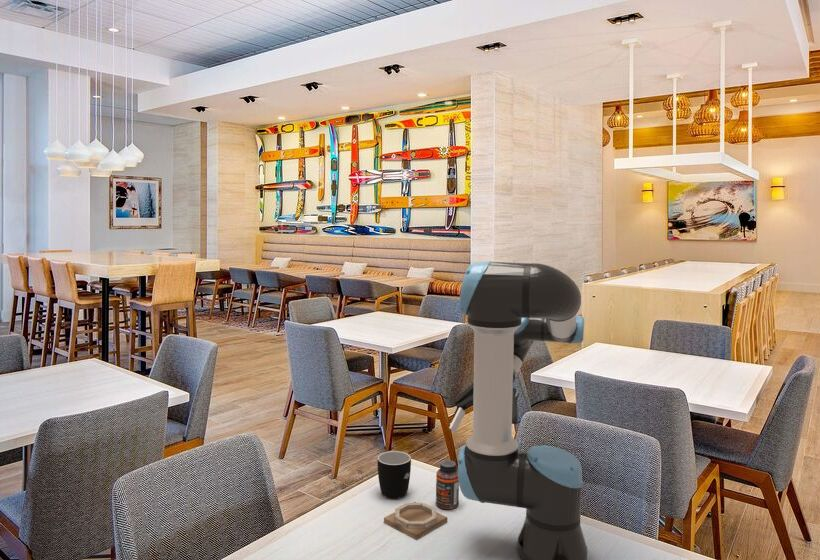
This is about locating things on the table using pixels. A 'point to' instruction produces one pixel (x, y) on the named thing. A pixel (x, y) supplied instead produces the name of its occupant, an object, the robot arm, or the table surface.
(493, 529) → the table surface
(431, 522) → the socket board
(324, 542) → the table surface
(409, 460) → the mug
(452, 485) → the supplement bottle
